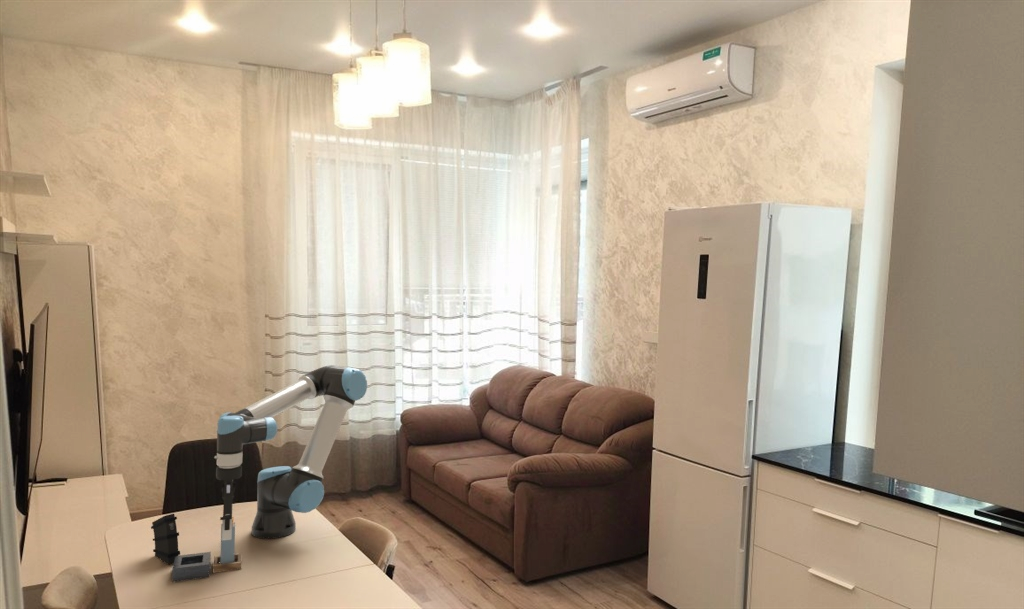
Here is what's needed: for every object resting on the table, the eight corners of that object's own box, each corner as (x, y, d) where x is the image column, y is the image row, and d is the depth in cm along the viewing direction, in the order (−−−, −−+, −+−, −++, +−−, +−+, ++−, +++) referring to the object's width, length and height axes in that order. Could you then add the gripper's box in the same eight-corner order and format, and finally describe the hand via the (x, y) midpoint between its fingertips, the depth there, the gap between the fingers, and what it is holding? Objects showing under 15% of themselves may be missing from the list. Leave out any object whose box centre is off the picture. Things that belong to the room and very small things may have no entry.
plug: (234, 562, 206) (235, 516, 206) (234, 567, 202) (235, 520, 202) (220, 564, 204) (221, 517, 204) (220, 569, 201) (221, 521, 200)
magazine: (172, 563, 200) (163, 515, 204) (155, 570, 208) (148, 524, 211) (184, 559, 203) (176, 512, 207) (168, 566, 211) (160, 521, 214)
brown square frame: (241, 558, 209) (241, 552, 209) (241, 568, 201) (241, 562, 201) (214, 562, 205) (214, 556, 205) (213, 572, 198) (213, 566, 198)
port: (210, 564, 204) (210, 551, 204) (209, 577, 195) (209, 564, 195) (175, 568, 200) (175, 555, 200) (172, 582, 191) (172, 568, 191)
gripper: (217, 456, 213) (215, 520, 213) (214, 476, 190) (212, 547, 190) (242, 455, 216) (240, 518, 216) (242, 474, 193) (239, 544, 193)
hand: (227, 532), depth 203 cm, fingers open, 13 cm apart
